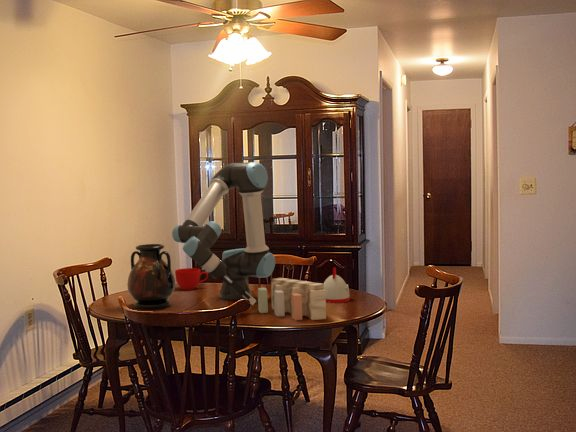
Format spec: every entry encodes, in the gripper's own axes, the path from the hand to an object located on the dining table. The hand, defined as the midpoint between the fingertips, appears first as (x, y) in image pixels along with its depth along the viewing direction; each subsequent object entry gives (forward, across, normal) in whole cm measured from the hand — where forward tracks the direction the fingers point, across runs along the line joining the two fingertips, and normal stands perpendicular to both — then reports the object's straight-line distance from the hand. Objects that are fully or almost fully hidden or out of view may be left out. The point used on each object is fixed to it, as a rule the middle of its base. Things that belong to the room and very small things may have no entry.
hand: (254, 302), depth 292 cm
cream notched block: (+15, +9, +9) cm, 20 cm away
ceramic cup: (-9, -69, -16) cm, 72 cm away
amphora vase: (-25, -32, -32) cm, 52 cm away
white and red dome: (+33, -14, +26) cm, 44 cm away
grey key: (+9, +9, +3) cm, 13 cm away
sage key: (+6, 0, 0) cm, 6 cm away
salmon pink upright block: (+13, +18, +7) cm, 23 cm away
